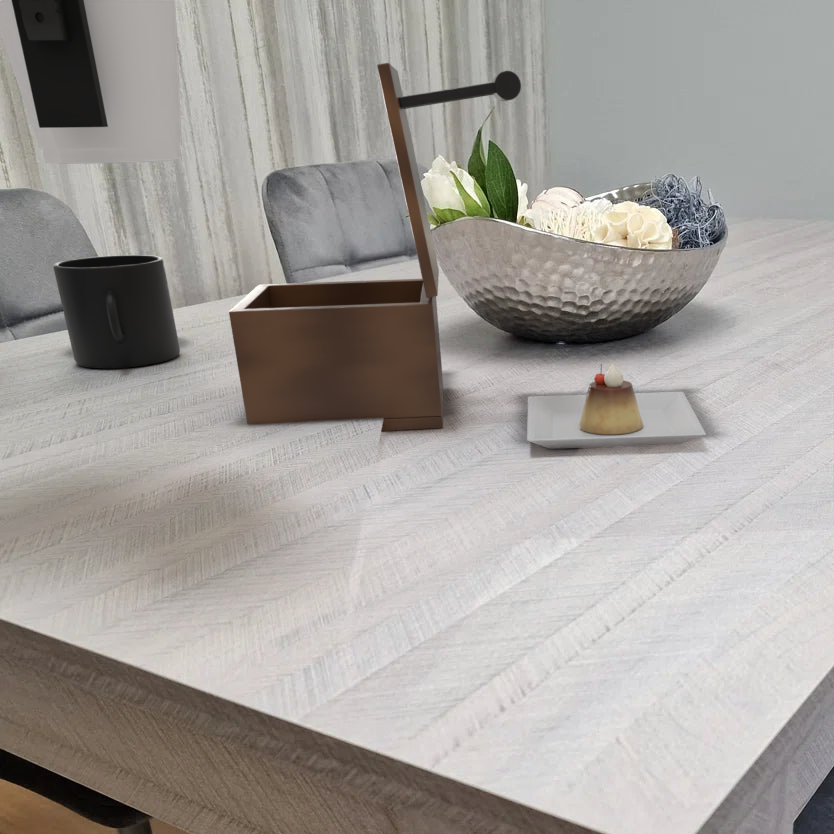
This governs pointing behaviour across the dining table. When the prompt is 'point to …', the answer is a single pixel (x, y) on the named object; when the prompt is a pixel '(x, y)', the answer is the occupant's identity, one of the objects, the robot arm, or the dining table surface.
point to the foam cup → (116, 84)
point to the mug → (117, 310)
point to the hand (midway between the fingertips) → (107, 125)
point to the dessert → (611, 417)
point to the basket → (340, 353)
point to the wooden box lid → (396, 105)
